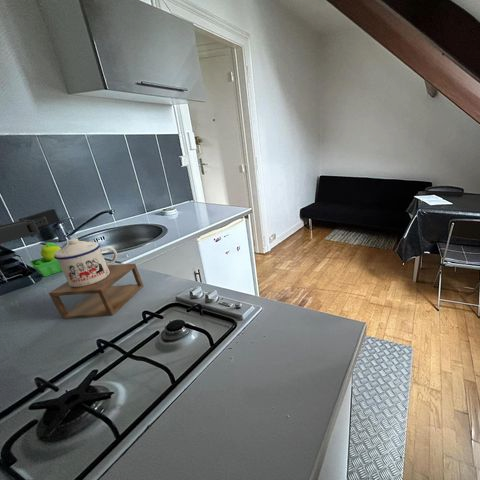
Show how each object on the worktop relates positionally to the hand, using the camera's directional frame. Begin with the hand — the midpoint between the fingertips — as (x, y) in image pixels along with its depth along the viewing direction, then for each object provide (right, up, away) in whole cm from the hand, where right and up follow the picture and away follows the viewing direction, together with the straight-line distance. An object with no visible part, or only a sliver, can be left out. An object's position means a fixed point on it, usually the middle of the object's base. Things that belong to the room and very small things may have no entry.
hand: (22, 217), depth 55 cm
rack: (+1, -22, +20) cm, 30 cm away
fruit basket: (-33, -16, +40) cm, 54 cm away
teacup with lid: (+1, -15, +17) cm, 23 cm away
